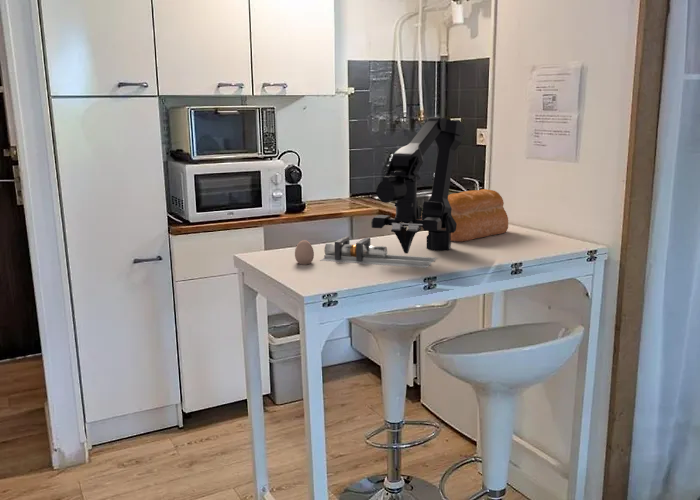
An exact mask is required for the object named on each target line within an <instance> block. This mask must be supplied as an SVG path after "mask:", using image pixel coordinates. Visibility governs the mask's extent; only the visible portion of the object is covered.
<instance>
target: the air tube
mask: <svg viewBox="0 0 700 500" xmlns="http://www.w3.org/2000/svg"><path fill="white" fill-rule="evenodd" d="M341 247H342V256H352V257H356V244H343V243H342V244H341ZM323 250H324V255H335V243H331V242H330V243H329V242H327V243H325V246H324V249H323ZM387 255H388V247H387V246H383V245H382V246H381V245H379V246H378V245H370V246H367V245H363V257H368V258H383V259H386V258H387Z"/></svg>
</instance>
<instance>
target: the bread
mask: <svg viewBox="0 0 700 500" xmlns="http://www.w3.org/2000/svg"><path fill="white" fill-rule="evenodd" d="M448 201H449V203H450V206H451V208H452V211H451V215H452V217H453V219H454V220H455V222H456V224H457V226H456V231H455V232H454V233H451V242H459V243H460V242H461V243H462V242H467V241H472V240H475V239H482V238H485V237H489V236H495V235H501V234H504V233H506V232H507V231H508V229H509V217H508V214H507V211H506V210H505V208H504V204H505V202H504V198H503V196H502V195H501V194H500V193H499V192H497V191H496V190H494V189H486V188H483V189H482V188H481V189H477V190H475V189H474V190H466V191H459V192H458V193H457V192H456V193H455V192H454V193H450V194H448Z"/></svg>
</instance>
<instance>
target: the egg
mask: <svg viewBox="0 0 700 500" xmlns="http://www.w3.org/2000/svg"><path fill="white" fill-rule="evenodd" d="M314 251H315V250H314V248H313V246H312V244H311V243H310V242H309V241H308V240H306V239H303V240H300V241H299V242H298V243H297V245H296V247H295V250H294V257H295V260H296V262H297V263H298V264H299V265H303V266H304V265H310V264H311V263H313V260H314V256H315V252H314Z"/></svg>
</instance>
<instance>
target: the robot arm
mask: <svg viewBox="0 0 700 500" xmlns="http://www.w3.org/2000/svg"><path fill="white" fill-rule="evenodd" d="M465 127H466V126H465V124H464V123H463V122H462V121H461V120H460V119H448V118H445V117H442V116H429V117H427V118H426V119H425V123H424V124H423V125H422V126H421V128H420V129H419V131H418V132H417V133H416V134H415V136H414V137H413V138H412V140H411V141H409V143H408V144H407V145H404V146H401V147H400V148H398V149H397V150H396V151H395V152H394V153H393V155H392V157H391V159H390V162H389V164H388V167H387V169H386V172H385V175H384V176H382V181H380V182H379V183H378V185H377V188H376V191H375V192H376V195H377V198H378V200H380V201H381V202H383V203H391V202H394V206H395V217H394V218H392V217H391V216H390V215H386V214H385V215H384V214H378V215H376V216H374V217H373V218H371V225H370V226H371V228H373V229H383V228H384V227H385V226H391V228H392V229H391V230H390V232H391V233H394V234H395V236H396V238H397V239H398V242H399V243H400V246H401V248H402V251H403V252H404V254H409V252H410V249H411V245H412V242H413V239H414V237H415V236H416V234H417V233H418V232H420V231H421V230H422V229H423V231H424V232H426V231H427V233H428V235H426V249H427V250H431V251H434V252H435V251H436V252H440V251H441V252H442V251H450V250H451V249H452V241H451V233H454V232H455V231H456V226H457V224H456V222H455V220H454V219H453V217H452V215H451V211H452V208H451V206H450V203H449V201H448V195H449V192H450V185H451V180H452V171H453V164H454V158H455V151H456V150H457V149H458V148H459V146H461V144H462V142H463V138H464V135H465V131H466V128H465ZM434 142H435V143H436V144H435V145H436V146H437V155H436V161H435V169H434V176H433V182H432V189H431V196H430V197H429V199H428V200H424V202H423V205H422V207H420V206H419V202H418V199H417V196H418V195H417V194H418V193H417V192H418V191H417V190H418V188H417V186H418V185H417V183H418V182H417V181H420V180H421V177H420V175H418V172H419V171H420V169H421V167H422V166H423V163H424V156H425V153H426V152H427V151H428V149H429V148H430V147H431V145H432V144H433V143H434ZM407 227H408V229H407Z"/></svg>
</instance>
